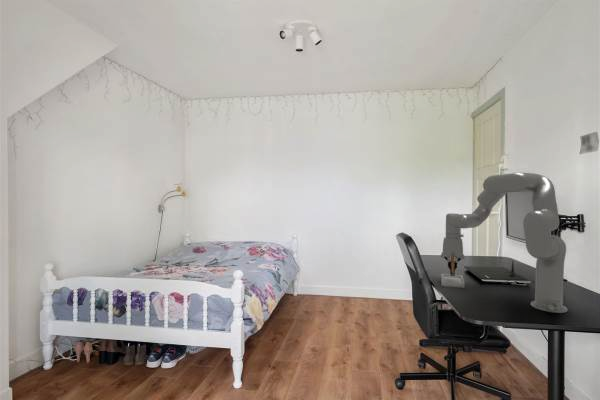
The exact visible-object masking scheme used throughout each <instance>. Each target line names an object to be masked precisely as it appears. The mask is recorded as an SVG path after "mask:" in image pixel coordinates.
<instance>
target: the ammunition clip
mask: <svg viewBox="0 0 600 400" xmlns="http://www.w3.org/2000/svg"><path fill="white" fill-rule="evenodd" d="M450 262H451V269H449V274H451V276H455V275H456V274H455V273H456V272H455V271H456V270H455V257H454V254H453V253H452V257H450Z"/></svg>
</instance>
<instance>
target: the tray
mask: <svg viewBox="0 0 600 400" xmlns="http://www.w3.org/2000/svg"><path fill="white" fill-rule="evenodd" d="M440 279H441V280H440V281H441V282H440V284H441V287H442V286H443V287H450V288H458V289H459V288H460V289H465V280H464V277H463V275H459V274H455V276H451V274H450V273H448V274H447V273H441V278H440Z"/></svg>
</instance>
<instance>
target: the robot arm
mask: <svg viewBox="0 0 600 400" xmlns="http://www.w3.org/2000/svg"><path fill="white" fill-rule="evenodd" d="M482 188H483V190H482V191H481V192H480V194H479V195H477V198H476V199H477V202H478V206H477V207H476V209H475V210H474V211H472V213H464V214H463V213H461V214H460V213H452V212H451V213H447V214H446V215H445V237H443V240H442V241H443V243H442V252H441V254H440V257H441V258H442V259H445V260H446V262H447V268H448V269H449V270H450V269H451V257H452V253H453V254H454V261H455V271H456V269H458V263H459V262H460V261H461V260H465V259H466V256H465V255H464V245H463V244H464V243H463V238H464V237H465V236H464V234H462V233H461V232H462V231H461V230H462V229H470V228H472V229H474V228H477V227H479V226H481V225H482V224H483V223H484V222H485V221H486V220H487V219H488V217H489V216H490V215H491V212H492V210H493V208H494V207H495V206H496V204H498V203H499V202H500V201H501V199H502V198H503V197H505V195H506V194H508V193H520V192H521V193H522V192H523V193H524V192H525V193H528V192H529V193H532V199H531V204H532V211H528V212H527V213H526V214H525V216H524V218H523V223H522V225H523V233H524V240H525V248H526V250H527V253H528V254H529V255H530V256H531V257H533V258H534V259H536V261H535V284H534V285H535V286H534V287H535V291H534V300H532V301H530V306H531V307H533V308H534V309H536V310H538V311H539V310H540V311H542V312H543V311H544V312H548V313H554V314H564V313H567V312H568V308H567V307H566V305H564V274H565V273H564V271H565V269H564V268H565V259H566V254H567V244H566V243H565V241H564V240H563V239H562V238H561V237H560V236H558V235H555V234H551V233H552V232H553V231H555V230H558V228H559V226H560V218H559V217H560V216H559V209H558V204H557V196H556V189H555V185H554V184H553V182H552V180H551V179H549V177H548V176H547V177H546V176H544V175H542V174H537V173H533V172H532V173H531V172H512V173H504V174H495V175H490V176H488V177H486V178H485V179H484V180H483V183H482ZM462 237H463V238H462Z"/></svg>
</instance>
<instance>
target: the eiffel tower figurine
mask: <svg viewBox="0 0 600 400" xmlns="http://www.w3.org/2000/svg"><path fill="white" fill-rule="evenodd" d="M514 262H515V261H514V260H512V261H511V270H510V274H509V276H508V277H507V279H509V280H510V279H513V280H515V279H517V280H518V278H517V276H516V274H515V268H514V267H515V266H514ZM515 281H516V280H515ZM503 284H507V282H503ZM511 285H517V286H528V283H524V284H517V283H511Z"/></svg>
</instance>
